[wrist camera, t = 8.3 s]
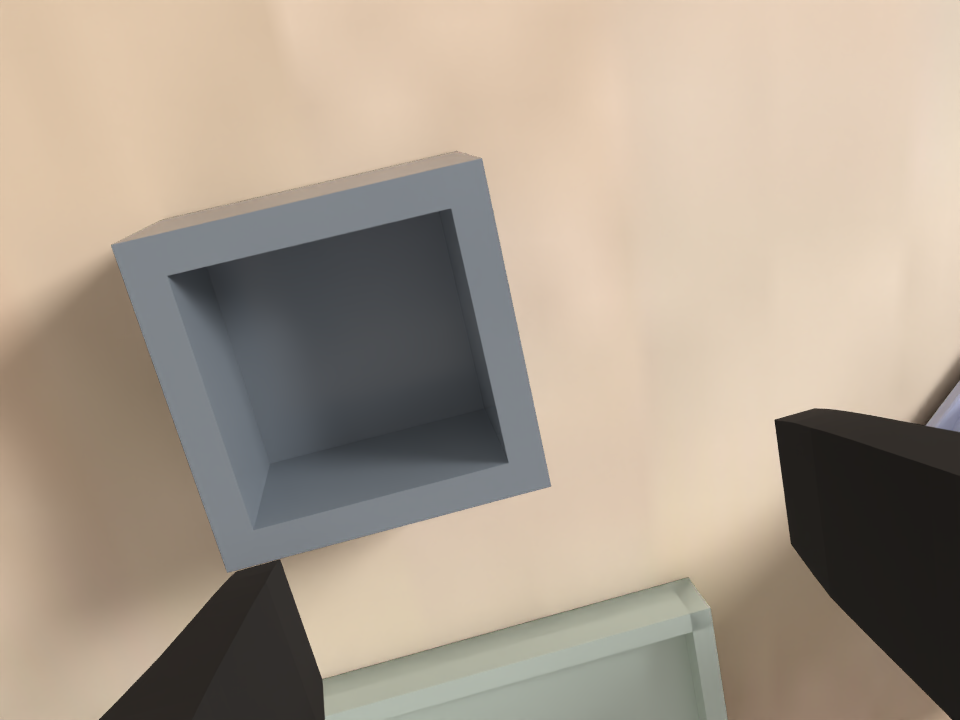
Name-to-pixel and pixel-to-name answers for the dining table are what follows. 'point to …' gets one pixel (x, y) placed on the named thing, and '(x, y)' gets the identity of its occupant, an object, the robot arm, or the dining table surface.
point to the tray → (556, 668)
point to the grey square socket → (339, 356)
